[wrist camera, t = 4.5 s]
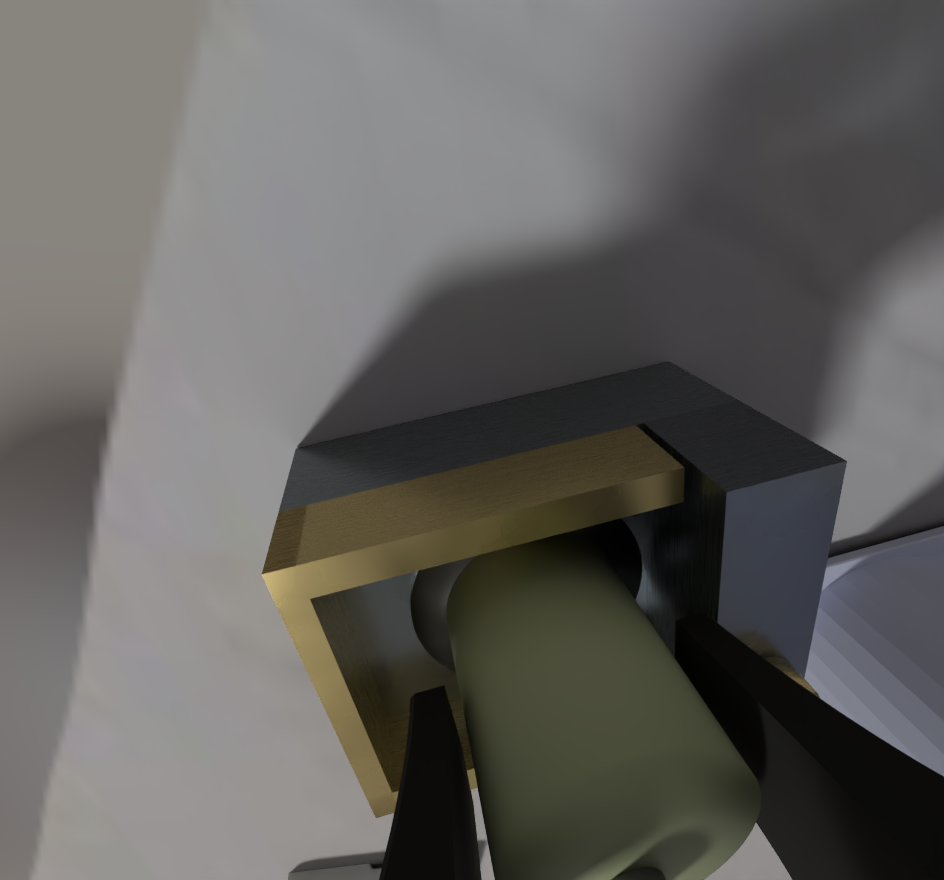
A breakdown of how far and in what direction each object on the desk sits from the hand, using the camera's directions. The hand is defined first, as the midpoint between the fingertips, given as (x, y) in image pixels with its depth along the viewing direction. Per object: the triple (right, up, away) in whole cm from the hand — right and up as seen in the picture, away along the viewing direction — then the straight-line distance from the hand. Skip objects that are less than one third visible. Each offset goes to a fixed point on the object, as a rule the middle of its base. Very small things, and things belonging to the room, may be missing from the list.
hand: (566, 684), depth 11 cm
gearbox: (-1, +3, +5) cm, 6 cm away
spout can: (0, +1, +2) cm, 3 cm away
